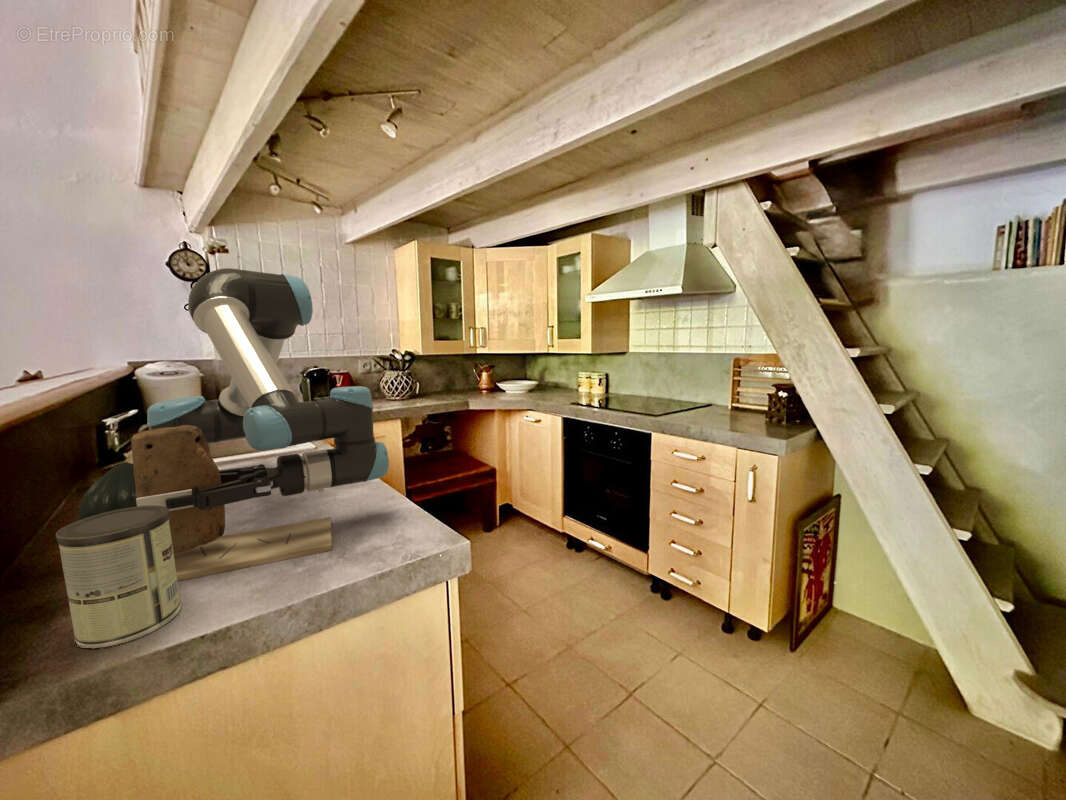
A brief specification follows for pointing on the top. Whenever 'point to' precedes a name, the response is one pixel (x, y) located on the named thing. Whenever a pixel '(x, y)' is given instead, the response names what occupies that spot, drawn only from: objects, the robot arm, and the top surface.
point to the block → (179, 480)
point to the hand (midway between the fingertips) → (142, 499)
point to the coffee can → (119, 574)
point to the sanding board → (255, 548)
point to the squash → (110, 492)
